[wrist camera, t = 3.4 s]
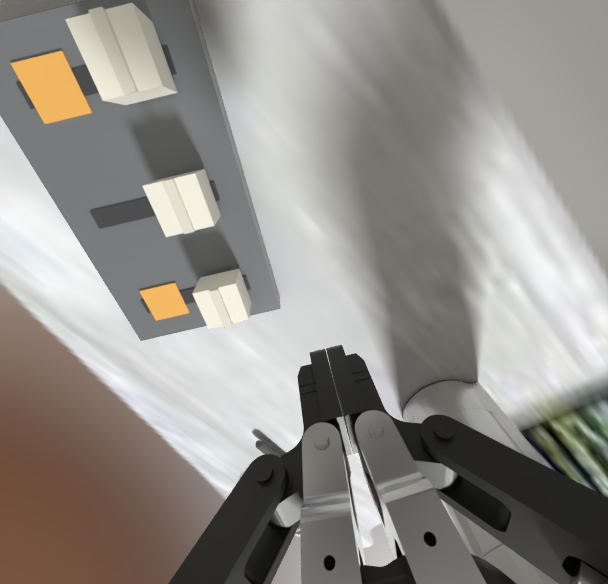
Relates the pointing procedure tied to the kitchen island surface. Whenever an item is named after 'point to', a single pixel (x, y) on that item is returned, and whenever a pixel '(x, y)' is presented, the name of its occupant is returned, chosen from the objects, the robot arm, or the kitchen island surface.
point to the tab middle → (183, 202)
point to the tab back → (223, 299)
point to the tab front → (122, 54)
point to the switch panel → (134, 163)
